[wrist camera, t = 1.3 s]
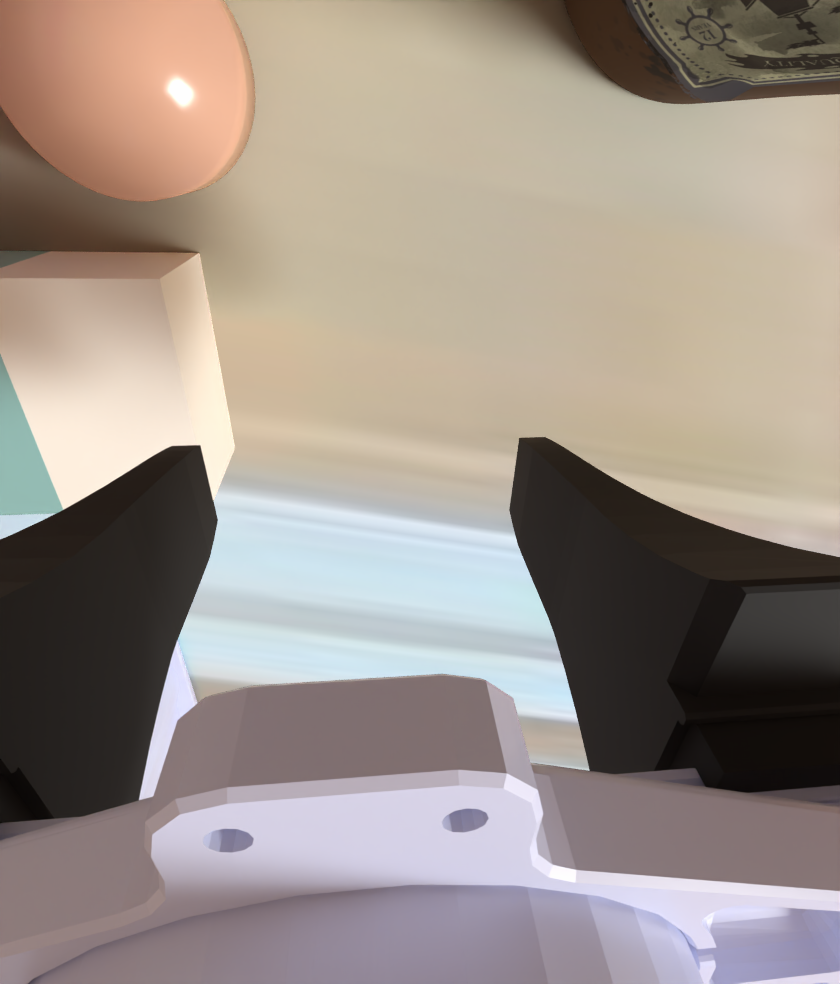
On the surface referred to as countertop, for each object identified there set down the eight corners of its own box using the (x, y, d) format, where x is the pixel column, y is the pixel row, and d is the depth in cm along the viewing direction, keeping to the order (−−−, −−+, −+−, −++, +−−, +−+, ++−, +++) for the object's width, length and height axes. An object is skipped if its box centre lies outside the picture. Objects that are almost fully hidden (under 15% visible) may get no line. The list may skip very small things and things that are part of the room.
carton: (235, 447, 22) (210, 507, 19) (4, 452, 21) (-71, 517, 18) (200, 252, 18) (159, 278, 15) (-86, 249, 17) (-208, 277, 14)
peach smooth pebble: (267, 196, 18) (252, 203, 15) (74, 192, 17) (24, 199, 14) (238, -60, 14) (213, -105, 12) (-2, -76, 14) (-83, -126, 11)
